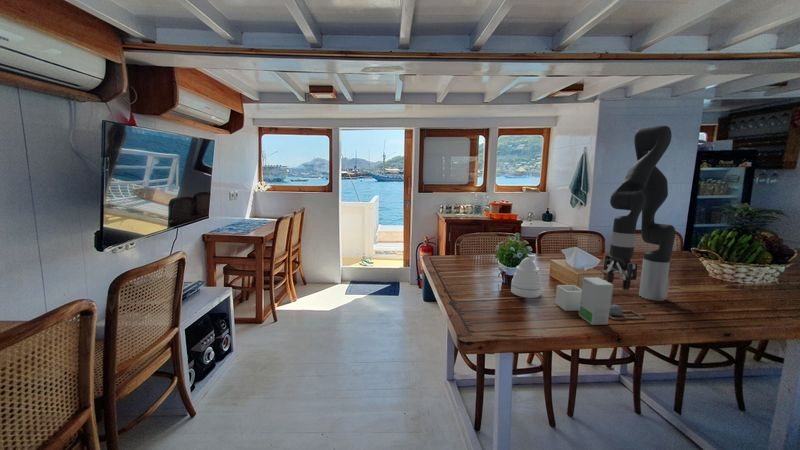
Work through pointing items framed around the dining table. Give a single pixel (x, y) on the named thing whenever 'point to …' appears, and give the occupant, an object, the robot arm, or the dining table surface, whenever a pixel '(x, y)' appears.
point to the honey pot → (526, 279)
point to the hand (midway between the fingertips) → (617, 285)
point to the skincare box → (595, 300)
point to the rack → (626, 316)
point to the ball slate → (615, 310)
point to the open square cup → (568, 297)
